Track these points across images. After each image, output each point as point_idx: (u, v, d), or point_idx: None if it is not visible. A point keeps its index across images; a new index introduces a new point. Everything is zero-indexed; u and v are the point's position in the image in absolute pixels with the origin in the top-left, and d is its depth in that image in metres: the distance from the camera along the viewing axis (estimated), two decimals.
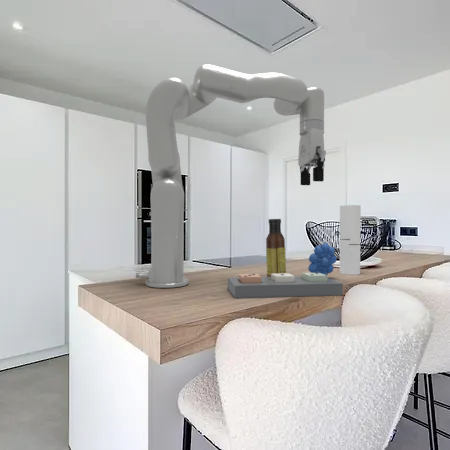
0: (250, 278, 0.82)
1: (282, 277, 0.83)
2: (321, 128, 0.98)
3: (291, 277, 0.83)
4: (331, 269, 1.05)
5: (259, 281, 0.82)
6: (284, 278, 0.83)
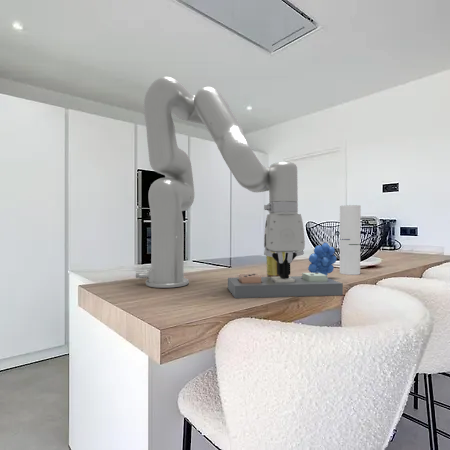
0: (250, 278, 0.82)
1: (282, 280, 0.83)
2: None
3: (291, 280, 0.83)
4: (331, 269, 1.05)
5: (259, 281, 0.82)
6: (284, 281, 0.83)
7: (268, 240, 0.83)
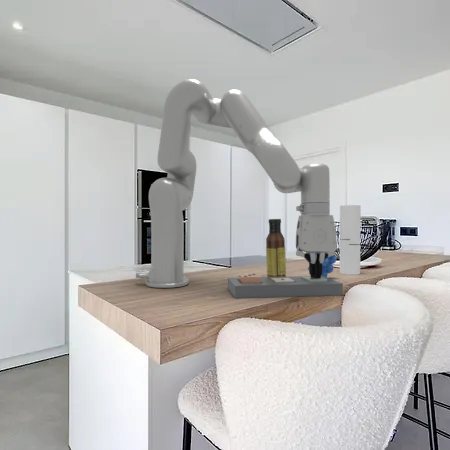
0: (250, 278, 0.82)
1: None
2: None
3: None
4: (331, 269, 1.05)
5: (259, 281, 0.82)
6: None
7: (301, 241, 0.84)
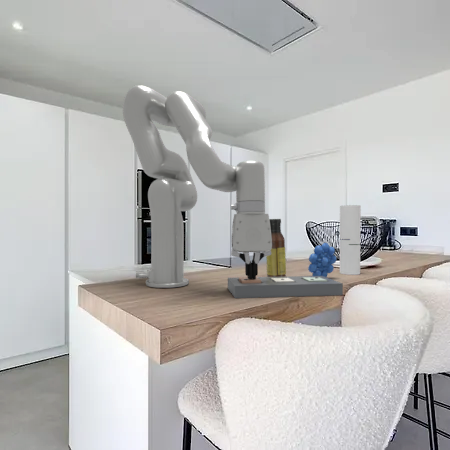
0: (250, 281, 0.82)
1: None
2: None
3: None
4: (331, 269, 1.05)
5: None
6: None
7: (234, 240, 0.81)
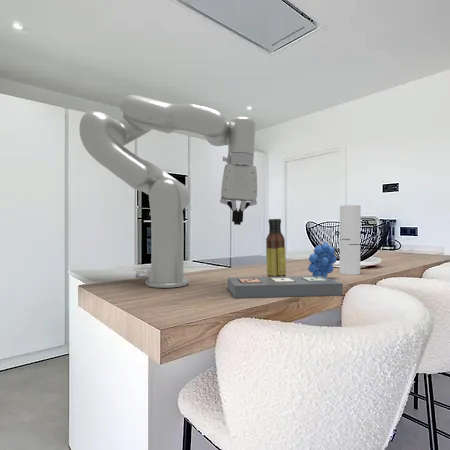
0: None
1: None
2: None
3: None
4: (331, 269, 1.05)
5: None
6: None
7: (223, 188, 0.90)
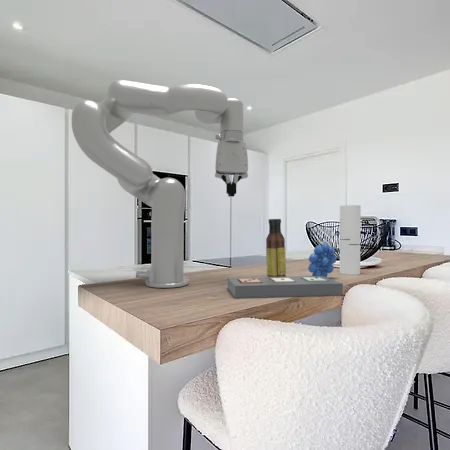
0: None
1: None
2: None
3: None
4: (331, 269, 1.05)
5: None
6: None
7: (217, 162, 1.00)
